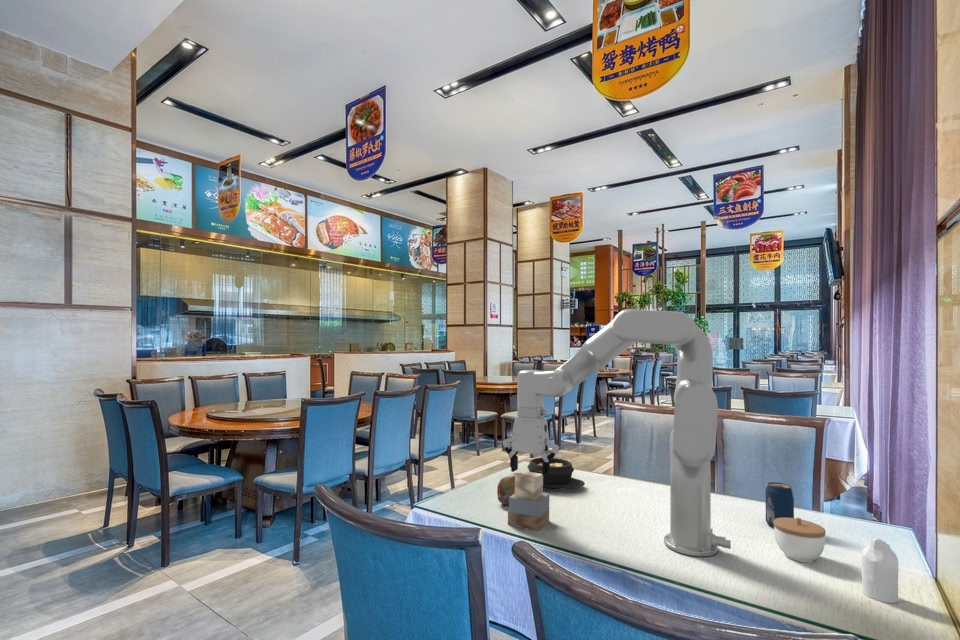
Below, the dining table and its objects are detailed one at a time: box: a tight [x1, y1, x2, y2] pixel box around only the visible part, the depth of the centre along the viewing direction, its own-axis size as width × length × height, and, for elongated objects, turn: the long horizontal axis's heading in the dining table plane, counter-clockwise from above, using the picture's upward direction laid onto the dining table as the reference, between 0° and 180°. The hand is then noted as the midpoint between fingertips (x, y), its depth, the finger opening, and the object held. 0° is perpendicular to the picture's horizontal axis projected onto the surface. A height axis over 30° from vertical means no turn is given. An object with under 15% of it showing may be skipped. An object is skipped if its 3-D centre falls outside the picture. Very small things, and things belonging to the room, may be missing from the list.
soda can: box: [765, 481, 795, 530], centre depth 139 cm, size 7×7×12 cm
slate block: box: [508, 492, 550, 517], centre depth 138 cm, size 9×9×4 cm
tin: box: [496, 472, 520, 506], centre depth 157 cm, size 15×3×8 cm, turn 143°
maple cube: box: [515, 470, 544, 501], centre depth 138 cm, size 6×6×6 cm
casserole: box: [526, 457, 586, 490], centre depth 176 cm, size 25×19×8 cm
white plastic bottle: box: [861, 538, 899, 604], centre depth 100 cm, size 6×12×6 cm
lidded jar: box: [773, 517, 826, 563], centre depth 119 cm, size 11×11×9 cm
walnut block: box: [507, 507, 550, 532], centre depth 138 cm, size 9×9×4 cm
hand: (529, 473), depth 138 cm, fingers open, 9 cm apart
